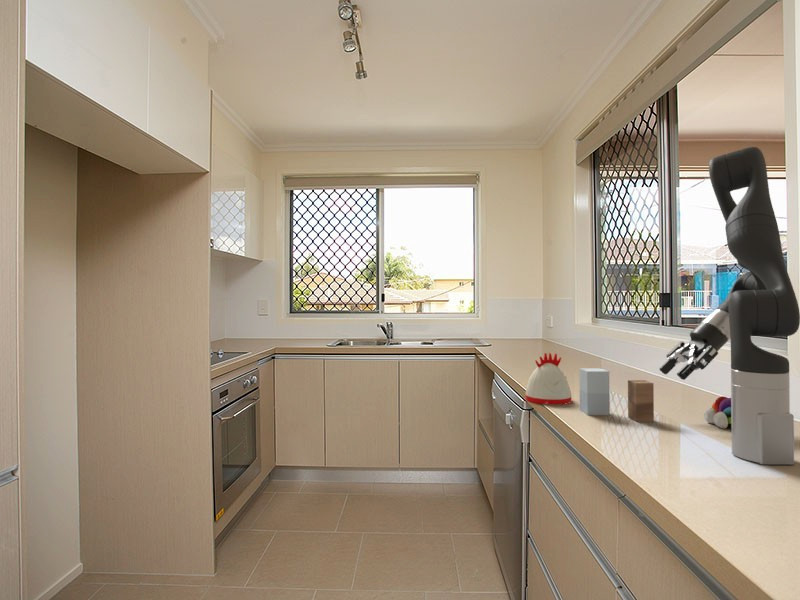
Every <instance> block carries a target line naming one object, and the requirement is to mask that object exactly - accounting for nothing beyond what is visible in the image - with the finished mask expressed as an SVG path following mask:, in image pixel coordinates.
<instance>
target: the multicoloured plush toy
mask: <svg viewBox="0 0 800 600" xmlns="http://www.w3.org/2000/svg"><path fill="white" fill-rule="evenodd" d="M703 418H704V420H705V421H706V422H707V423H708V424H711V425H715V426H716V427H718V428H720V429H727V427H729V426H728V425H729V424H730V425H731V397H727V396H724V395H723V396H719V397H717V398H716V400H715V401H714V402H713V403H712V405H711V407H709V408H707V409H705V411H704V412H703Z"/></svg>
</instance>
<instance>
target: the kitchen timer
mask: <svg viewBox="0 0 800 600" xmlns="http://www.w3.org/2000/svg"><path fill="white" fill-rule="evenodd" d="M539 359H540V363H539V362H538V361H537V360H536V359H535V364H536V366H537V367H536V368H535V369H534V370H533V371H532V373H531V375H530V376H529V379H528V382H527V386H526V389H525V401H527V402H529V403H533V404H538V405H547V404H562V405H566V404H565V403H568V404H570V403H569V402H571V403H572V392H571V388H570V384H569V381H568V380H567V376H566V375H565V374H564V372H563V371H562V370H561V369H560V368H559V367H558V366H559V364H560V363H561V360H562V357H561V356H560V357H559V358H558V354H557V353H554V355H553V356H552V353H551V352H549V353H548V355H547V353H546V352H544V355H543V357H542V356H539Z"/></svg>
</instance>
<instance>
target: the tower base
mask: <svg viewBox="0 0 800 600" xmlns="http://www.w3.org/2000/svg"><path fill="white" fill-rule="evenodd" d="M610 395H611V393H610V392H609V393H586V392H584V391H582V390H580V389H579V411H580V410H581V411H580V412H582V413H583V412H584V414H585V415H587V416H610V415H611V414H610V413H611V412H610V411H611V410H610V403H611V402H610V398H611V397H610Z"/></svg>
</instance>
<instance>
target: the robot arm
mask: <svg viewBox="0 0 800 600" xmlns="http://www.w3.org/2000/svg"><path fill="white" fill-rule="evenodd" d="M708 172H709V173H708V175H709V179H710V183H711V186H712V188H713V191H714V192H713V193H714V195H715V198H716V200H717V203H718V206H719V208H720V211H721V213H722V217H723V218H724V221H725V236H726V243H727V248H728V250H729V252H730V254H731V255H732V256H733V258H735V259H736V262H737V264H738V266H739V267H741V268H743V269H745V270H747V271H748V272H744V273H743V274H741V275H740V276H739V277H737V279H736V280H735V281H734V283H733V285H732V286H731V288H730V290H729V291H728V294H727V296H726V298H725V300H724V301H722V302H721V303H720V304H719V305H718V306H717V307H716V308H715V309H714V310H712V311H711V312H710V313H709V314H708V315H707V316H706V317H705V318H703V320H701V322H700V323H699V324H698V325H696V326H695V328H693V330H691V331H690V333H689V337H690V341H688V342H687V343H685V342H684V341H680V342H678V343H677V344H676V345H675V346H674V347H673V348H672V349H671V350H670V351H669V352H667V354H665V357H666V358H667V359H666V361H665V362H664V363H663V364H662V365H661V366H660V367H659V371H660V372H661V373H662V374H663V375H668V374H669V373H670V372H671V371H672V370H673V368H675V367H676V365H678V364H680V363H685V362H687V363H685V364H684V366H683V367H682V368H681V369H679V370H678V371H677V372H676V375H677V376H678V377H679V379H680V380H682V381H685V380H686V379H688V377H689V376H690V375H692V373H693V372H694V371H697V370H699V369H700V370H704V369H705V368H706V367H707V366H709V365H710V363H711V362H712V361H713V360H714V359H715V358H716V357H717V356H718V355H719V350H721V348H723V346H725V344H727V342H728V341H730V368H731V369H730V398H731V424H730V425H731V428H730V429H731V454H732V455H734V456H736V457H737V458H740V459H742V460H746V461H749V462H755V463H757V464H759V465H795V430H794V429H795V427H794V426H795V425H794V424H795V421H794V419H795V418H794V414H792V413H790V412H791V411H790V409H791V408H790V406H791V403H790V397H791V396H790V360H789V359H788V358H787V357H786V356H784V355H781V354H778V353H774V352H770V351H767V350H765V349H763V348H761V347H759V346H758V345H756V344H755V343H754V342H753V341H752V337H790V336H793V335H795V334H796V333H797V332H798V330H799V328H800V307H799V303H798V299H797V296H796V293H795V289H794V287H793V284H792V281H791V278H790V275H789V273H788V269H787V267H786V263H785V258H784V253H783V248H782V242H781V236H780V235H781V233H780V231H779V227H778V226H779V225H778V220H777V218H776V215H775V211H774V207H773V204H772V198H771V196H770V195H771V194H770V189H769V188H770V187H769V180H768V179H769V178H768V170H767V165H766V159H765V155H764V154H763V152H762V150H761V149H760V148H759V147H756V146H749V147H744V148H742V149H738V150H735V151H731V152H727V153H723V154H721V155H717V156H715V157H712V158H711V159H710V161H709V163H708ZM745 188H747V190H746V192H745V194H744V195H743V197H742V198H741V199H740V200H739V202H738V203H736V201H735V200H734V198H733V196H732V193H731V192H733V191H738V190H741V189H745Z"/></svg>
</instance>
